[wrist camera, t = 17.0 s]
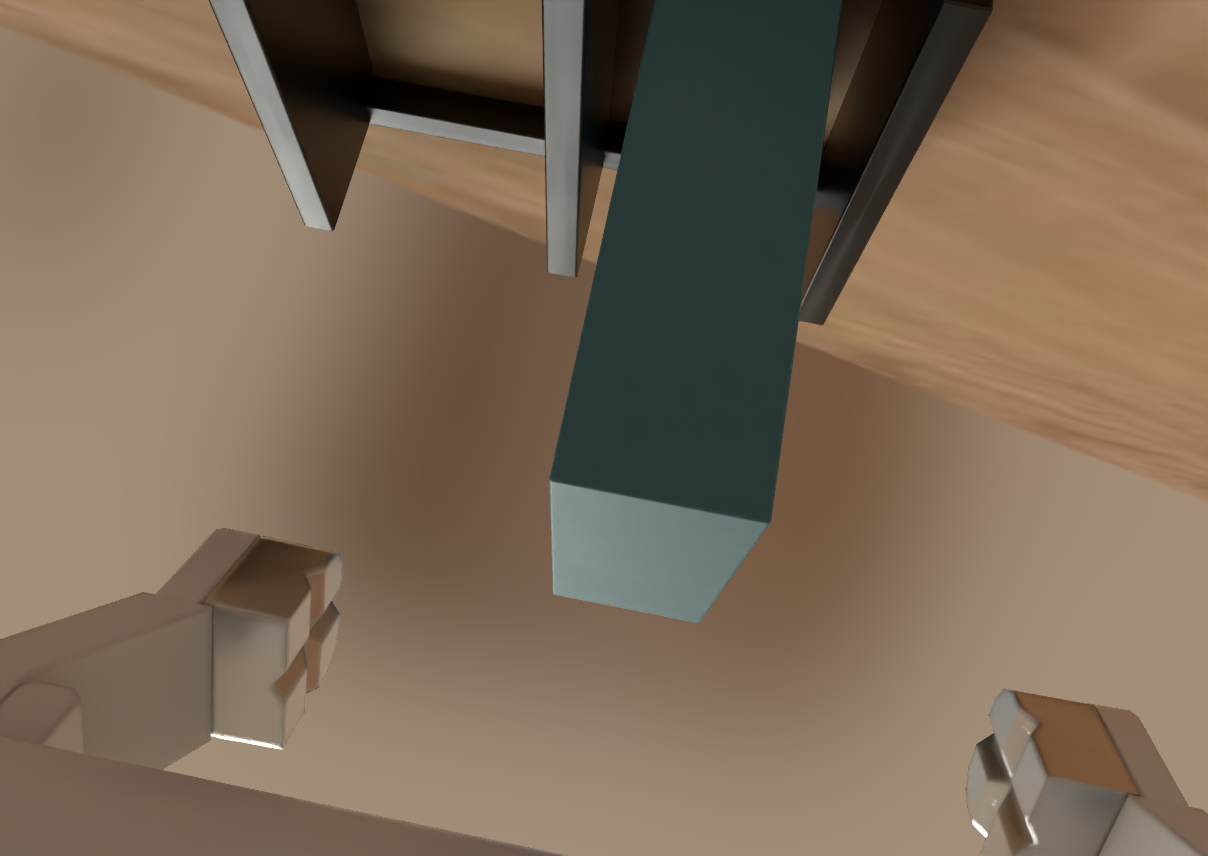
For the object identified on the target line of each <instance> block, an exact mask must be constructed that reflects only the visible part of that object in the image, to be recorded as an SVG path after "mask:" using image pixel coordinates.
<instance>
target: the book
mask: <svg viewBox="0 0 1208 856" xmlns="http://www.w3.org/2000/svg"><path fill="white" fill-rule="evenodd" d="M842 2H843V0H655V3H654V7H653V12H652V16H651V21H650V25H649V30H648V34H647V39H646V43H645V48H644V52H643V57H642V62H641V66H640V71H639V75H638V80H637V84H636V89H635V93H634V98H633V102H632V107H631V111H630V116H629V120H628V125H627V129H626V134H625V139H624V143H623V148H622V152H621V157H620V161H619V166H618V170H617V175H616V179H615V184H614V188H613V193H612V197H611V202H610V206H609V211H608V215H607V220H606V225H605V229H604V234H603V238H602V243H601V247H600V252H599V256H598V261H597V265H596V270H595V274H594V279H593V283H592V288H591V292H590V297H589V302H588V306H587V311H586V315H585V320H584V324H583V329H582V333H581V338H580V342H579V347H578V351H577V356H576V360H575V365H574V369H573V374H572V378H571V383H570V388H569V393H568V397H567V402H566V406H565V410H564V415H563V419H562V424H561V429H560V433H559V437H558V442H557V447H556V451H555V455H554V460H553V465H552V469H551V474H550V478H549V479H550V508H551V509H550V510H551V542H552V573H553V593H554V594H555V595H559V596H565V597H570V598H575V599H580V600H585V601H590V602H595V603H600V604H605V605H610V606H615V607H620V608H625V609H630V610H635V611H640V612H645V613H650V614H655V615H661V616H666V617H671V618H676V619H681V620H686V621H691V622H696V623H699V622H700V621H701V619H702V618H703V617H704V615H705V614H706V613H707V611H708V610H709V608H710V607H711V605H712V604H713V603H714V601H715V600H716V598H717V597H718V596H719V594H720V593H721V591H722V590H723V589H724V587H725V586H726V584H727V583H728V581H729V580H730V579H731V577H732V576H733V574H734V573H735V572H736V570H737V569H738V567H739V566H740V565H741V563H742V562H743V560H744V559H745V557H746V556H747V555H748V553H749V552H750V551H751V549H752V548H753V546H754V545H755V544H756V542H757V541H758V539H759V538H760V537H761V535H762V534H763V532H764V531H765V529H766V528H767V527H768V525H769V524H770V522H771V518H772V511H773V503H774V496H775V489H776V482H777V474H778V467H779V459H780V453H781V445H782V438H783V431H784V424H785V416H786V409H787V402H788V395H789V387H790V380H791V373H792V365H793V358H794V350H795V344H796V336H797V329H798V322H799V315H800V307H801V300H802V293H803V286H804V278H805V271H806V264H807V257H808V249H809V242H810V235H811V228H812V220H813V213H814V206H815V198H816V191H817V184H818V177H819V169H820V162H821V155H822V148H823V140H824V133H825V126H826V119H827V111H828V104H829V97H830V90H831V82H832V75H833V68H834V61H835V53H836V46H837V39H838V31H839V24H840V17H841V10H842Z"/></svg>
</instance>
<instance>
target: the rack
mask: <svg viewBox="0 0 1208 856" xmlns="http://www.w3.org/2000/svg"><path fill="white" fill-rule="evenodd" d="M209 2H210V4H211V7H212V9H213V11H214V14H215V16H216V19H217V21H218V23H219V26H220V28H221V30H222V33H223V35H224V37H225V40H226V42H227V44H228V47H229V49H230V51H231V54H232V56H233V58H234V61H235V63H236V65H237V68H238V70H239V72H240V75H241V77H242V79H243V82H244V84H245V86H246V89H247V91H248V93H249V96H250V98H251V100H252V103H253V105H254V107H255V110H256V112H257V114H258V117H259V119H260V122H261V124H262V126H263V129H264V131H265V133H266V136H267V138H268V140H269V142H270V145H271V147H272V149H273V152H274V154H275V157H276V159H277V161H278V164H279V166H280V168H281V171H282V173H283V175H284V178H285V180H286V182H287V185H288V187H289V189H290V192H291V194H292V196H293V199H294V201H295V203H296V206H297V208H298V210H299V213H300V215H301V217H302V220H303V222H304V225H306V226H308V227H313V228H318V229H323V230H329V231H333V230H334V229H335V226H336V223H337V220H338V217H339V214H340V211H341V207H342V205H343V202H344V199H345V196H346V193H347V190H348V187H349V183H350V181H351V178H352V175H353V172H354V169H355V166H356V163H357V160H358V157H359V154H360V150H361V147H362V144H363V141H364V138H365V135H366V132H367V129H368V126H369V124H375V125H380V126H385V127H391V128H396V129H401V130H407V131H412V132H417V133H423V134H428V135H433V136H439V137H444V138H449V139H454V140H460V141H465V142H470V143H476V144H481V145H486V146H492V147H497V148H502V149H508V150H513V151H518V152H524V153H529V154H534V155H540V156H545V184H546V235H547V271H548V272H549V273H553V274H558V275H564V276H569V277H574V278H576V277H577V276H578V272H579V268H580V263H581V259H582V255H583V251H584V246H585V242H586V238H587V233H588V229H589V224H590V220H591V216H592V211H593V207H594V203H595V198H596V194H597V189H598V185H599V181H600V176H601V172H602V168H603V167H604V168H609V169H614V170H618V166H619V161H620V157H621V152H622V148H623V143H624V139H625V134H626V129H627V124H621V123H616V122H611V121H610V119H611V105H612V92H613V79H614V65H615V52H616V39H617V25H618V12H619V0H542V33H543V84H544V109H541V108H535V107H530V106H525V105H519V104H514V103H509V102H503V101H498V100H493V99H487V98H482V97H476V96H471V95H466V94H460V93H455V92H450V91H444V90H439V89H434V88H428V87H423V86H417V85H412V84H407V83H401V82H396V81H391V80H385V79H380V78H375V77H374V76H373V72H372V68H371V64H370V60H369V56H368V52H367V48H366V44H365V40H364V36H363V32H362V28H361V24H360V20H359V16H358V12H357V8H356V4H355V0H209ZM992 10H993V0H883V3H882V5H881V8H880V10H879V13H878V15H877V18H876V21H875V23H874V26H873V28H872V31H871V33H870V36H869V38H868V41H867V43H866V46H865V48H864V51H863V53H862V56H861V58H860V61H859V63H858V66H857V68H856V71H855V73H854V76H853V78H852V81H851V83H850V86H849V88H848V91H847V93H846V96H845V98H844V101H843V103H842V106H841V108H840V111H839V113H838V116H837V119H836V121H835V124H834V126H833V129H832V131H831V134H830V136H829V139H828V141H827V144H826V146H825V149H824V151H823V154H822V156H821V162H820V169H819V177H818V184H817V191H816V198H815V206H814V213H813V220H812V228H811V235H810V242H809V249H808V257H807V264H806V271H805V278H804V286H803V293H802V300H801V307H800V315H799V321H803V322H808V323H814V324H819V325H823V324H824V323H825V321H826V319H827V317H828V315H829V313H830V312H831V310H832V308H833V306H834V304H835V302H836V300H837V299H838V297H839V295H840V293H841V291H842V289H843V287H844V286H845V284H846V282H847V280H848V278H849V276H850V274H851V273H852V271H853V269H854V267H855V265H856V263H857V261H858V260H859V258H860V256H861V254H862V252H863V250H864V248H865V247H866V245H867V243H868V241H869V239H870V237H871V235H872V234H873V232H874V230H875V228H876V226H877V224H878V222H879V220H880V219H881V217H882V215H883V213H884V211H885V209H886V207H887V206H888V204H889V202H890V200H891V198H892V196H893V194H894V193H895V191H896V189H897V187H898V185H899V183H900V181H901V180H902V178H903V176H904V174H905V172H906V170H907V168H908V167H909V165H910V163H911V161H912V159H913V157H914V155H915V154H916V152H917V150H918V148H919V146H920V144H921V142H922V141H923V139H924V137H925V135H926V133H927V131H928V129H929V128H930V126H931V124H932V122H933V120H934V118H935V116H936V114H937V113H938V111H939V109H940V107H941V105H942V103H943V101H944V100H945V98H946V96H947V94H948V92H949V90H950V88H951V87H952V85H953V83H954V81H955V79H956V77H957V75H958V74H959V72H960V70H961V68H962V66H963V64H964V62H965V61H966V59H967V57H968V55H969V53H970V51H971V49H972V48H973V46H974V44H975V42H976V40H977V38H978V36H979V35H980V33H981V31H982V29H983V27H984V25H985V23H986V22H987V20H988V18H989V16H990V14H991V12H992Z"/></svg>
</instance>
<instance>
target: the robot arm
mask: <svg viewBox="0 0 1208 856" xmlns="http://www.w3.org/2000/svg"><path fill="white" fill-rule="evenodd" d="M342 567H343V560H342V558H341V555H340V553H338V552H333V551H328V550H324V549H320V548H315V547H311V546H306V545H302V544H297V543H293V542H288V541H284V540H279V539H275V538H271V537H266V536H262V537H261V536H260V535H258V534H253V533H248V532H243V531H238V530H232V529H227V528H222V529H217V530H216V531H214V532H213V533H212V534H211V535H210V536H209V537H208V539H207V540H206V541H205V542H204V543H203V544H202V545H201V546H200V547H199V548H198V549H197V550H196V552H194V554H193V555H192V556H191V557H190V558H189V559H188V560H187V561H186V562H185V563H184V564H183V565H182V566H181V567H180V568H179V570H178V571H177V572H176V573H175V574H174V575H173V576H172V577H171V578H170V579H169V580H168V581H167V582H166V583H165V585H164V586H163V587H162V588H161V589H160V590H159V591H158V592H157V593H156V594H149V593H144V592H143V593H140V594H137V595H133V596H131V597H127V598H124V599H121V600H119V601H115V602H112V603H110V604H106V605H103V606H100V607H97V608H94V609H92V610H88V611H85V612H82V613H79V614H76V615H73V616H70V617H67V618H64V619H61V620H58V621H55V622H52V623H49V624H45V625H42V626H39V627H36V628H33V629H30V630H28V631H24V632H21V633H18V634H15V635H12V636H9V637H6V638H3V639H0V856H566V855H562V854H557V853H552V852H548V851H543V850H538V849H534V848H529V847H524V846H519V845H514V844H510V843H505V842H500V841H495V840H491V839H486V838H481V837H477V836H472V835H467V834H462V833H458V832H452V831H448V830H444V829H439V828H434V827H429V826H425V825H419V824H415V823H410V822H406V821H401V820H396V819H391V818H387V817H382V816H377V815H372V814H368V813H363V812H358V811H353V810H349V809H344V808H339V807H334V806H330V805H325V804H320V803H316V802H311V801H306V800H301V799H297V798H292V797H287V796H282V795H278V794H272V793H268V792H263V791H259V790H254V789H249V788H244V787H240V786H235V785H230V784H225V783H221V782H216V781H211V780H207V779H202V778H197V777H192V776H188V775H183V774H178V773H173V772H169V771H164V770H163V769H164V768H166V767H168V766H169V765H171V764H172V763H174V762H176V761H177V760H179V759H181V758H182V757H184V756H186V755H187V754H189V753H191V752H192V751H194V750H196V749H197V748H199V747H201V746H202V745H204V744H206V743H207V742H209V741H210V740H211V737H216V738H221V739H227V740H233V741H238V742H244V743H249V744H255V745H260V746H266V747H271V748H277V749H283V748H284V746H285V745H286V743H287V741H288V739H289V738H290V736H291V734H292V733H293V731H294V729H295V727H296V726H297V724H298V722H299V721H300V719H301V717H302V715H303V714H304V712H305V697H306V694H307V693H309V692H311V691H313V690H315V689H317V688H319V686H320V684H321V682H322V681H323V679H324V677H325V675H326V673H327V671H328V668H329V665H330V662H331V659H332V657H333V654H334V650H335V646H336V641H337V636H338V629H339V618H340V614H339V612H338V611H337V609H336V607H335V606H334V604H333V603H332V601H331V600H332V599H333V597H334V596H335V594H336V592H337V591H338V589H339V588H340V586H341V584H342ZM988 716H989V719H990V722H991V725H992V728H993V731H994V733H993V734H992V735H990V736H989V737H987V738H986V739H984V740H983V741H981V742H979V743H978V744H977V745H976V747H975V750H974V753H973V756H972V759H971V761H970V764H969V768H968V776H967V783H966V798H967V808H968V812H969V815H970V819H971V823H972V824H973V825H974V826H975V827H976V828H977V829H978V830H979V831H980V832H981V833H982V834H983V835H984V836H985V837H986V839H985V842H984V844H983V847H982V849H981V852H980V854H981V856H1208V814H1207V813H1206V812H1205V811H1203V810H1202V809H1198V808H1193V807H1189V806H1188V804H1187V802H1186V801H1185V799H1184V797H1183V795H1182V793H1181V792H1180V790H1179V788H1178V786H1177V784H1176V783H1175V781H1174V779H1173V777H1172V776H1171V774H1170V772H1169V770H1168V768H1167V767H1166V765H1165V763H1164V761H1163V760H1162V758H1161V756H1160V754H1159V753H1158V751H1157V749H1156V747H1155V745H1154V744H1153V742H1152V740H1151V738H1150V736H1149V735H1148V733H1147V731H1146V729H1145V728H1144V726H1143V724H1142V722H1141V720H1140V719H1139V717H1138V716H1137V715H1135V714H1134V713H1132V712H1131V711H1129V710H1124V709H1118V708H1112V707H1106V706H1100V705H1094V704H1085V703H1079V702H1073V701H1068V700H1063V699H1057V698H1052V697H1047V696H1041V695H1036V694H1030V693H1024V692H1019V691H1014V690H1008V689H1002V691H1001V692H1000V693H999V694H998V696H997V697H996V698H995V700H994V703H993V705H992V707H991V710H990V712H989V715H988Z"/></svg>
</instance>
